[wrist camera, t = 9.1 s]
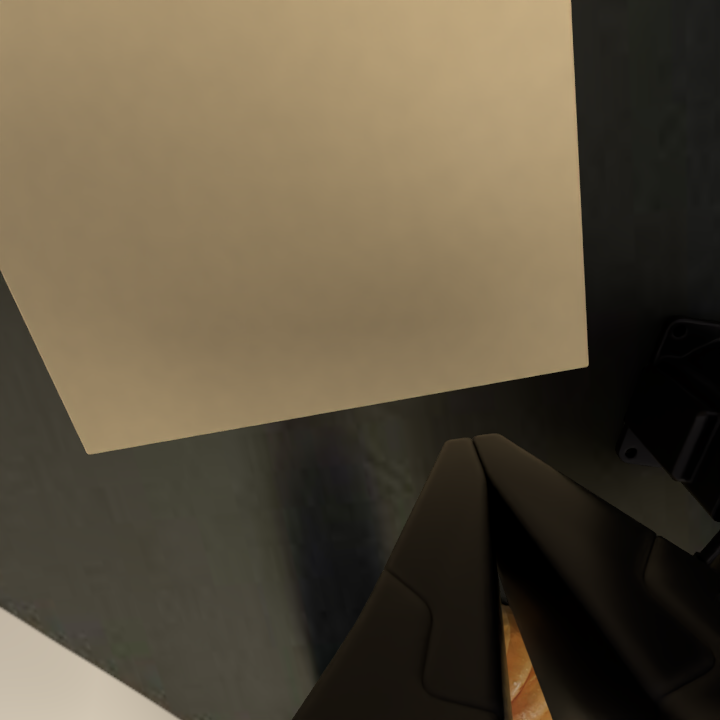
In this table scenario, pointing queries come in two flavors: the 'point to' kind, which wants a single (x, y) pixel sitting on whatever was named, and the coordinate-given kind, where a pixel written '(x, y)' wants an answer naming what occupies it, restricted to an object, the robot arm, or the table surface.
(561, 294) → the small drawer cabinet
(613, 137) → the table surface
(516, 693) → the pastry
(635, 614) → the robot arm
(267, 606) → the table surface
